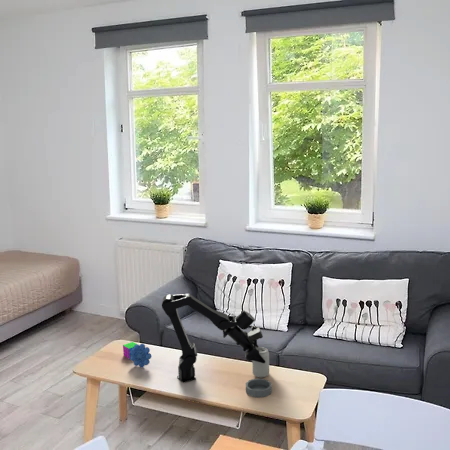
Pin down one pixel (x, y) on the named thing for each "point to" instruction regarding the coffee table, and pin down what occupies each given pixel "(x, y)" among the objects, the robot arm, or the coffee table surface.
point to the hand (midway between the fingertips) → (263, 358)
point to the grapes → (140, 355)
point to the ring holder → (258, 388)
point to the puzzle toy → (128, 349)
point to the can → (261, 364)
